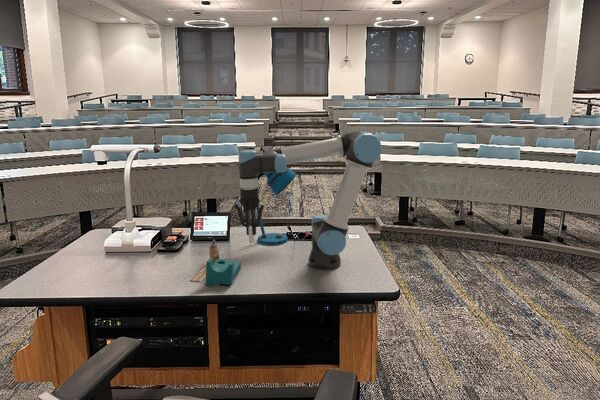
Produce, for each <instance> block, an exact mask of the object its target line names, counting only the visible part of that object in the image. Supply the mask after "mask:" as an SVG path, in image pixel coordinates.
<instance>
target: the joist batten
mask: <svg viewBox="0 0 600 400" xmlns="http://www.w3.org/2000/svg"><path fill="white" fill-rule="evenodd" d="M204 280H206V266H204V267H203V268H202V269H201V270H200V271H199V272H198V273H196V274H195V275H194V276H193V277H192V278H191V279H190V280H189V282H194V283H195V282H196V283H202V282H203V281H204Z"/></svg>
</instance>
